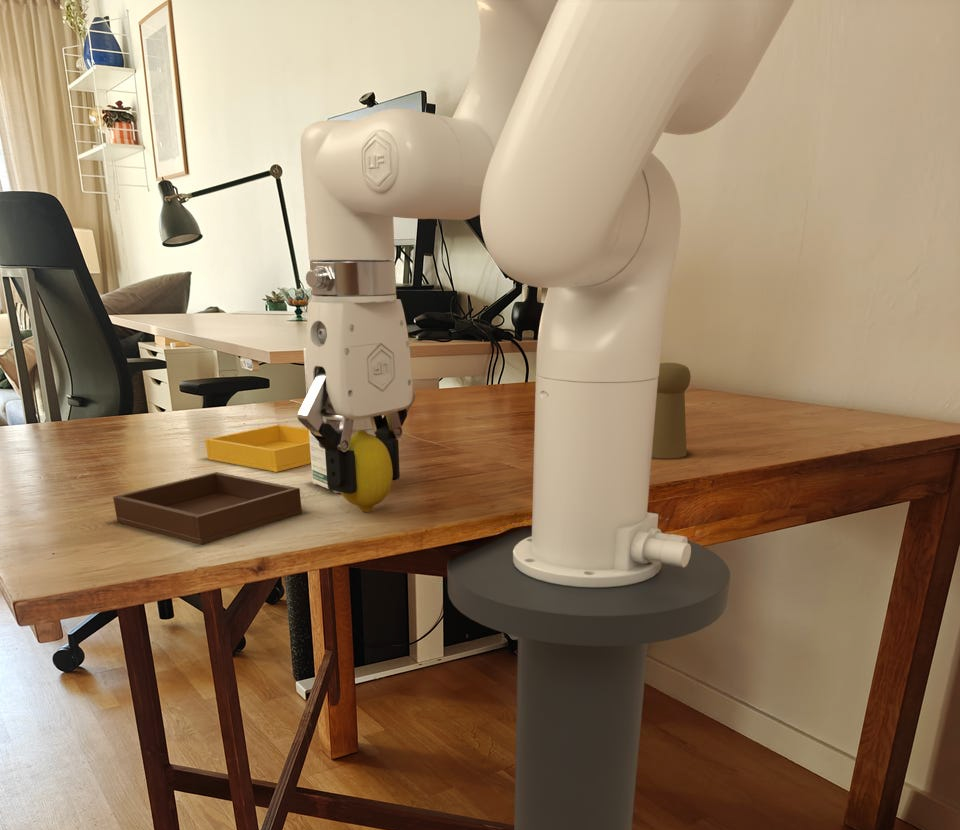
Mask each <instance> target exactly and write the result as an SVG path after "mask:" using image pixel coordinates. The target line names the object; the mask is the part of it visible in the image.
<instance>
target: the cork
mask: <svg viewBox="0 0 960 830" xmlns="http://www.w3.org/2000/svg"><path fill="white" fill-rule="evenodd" d="M691 377H692V376H691V371H690V369H689V367H688V366H687V365H685V364H681V363H677V362H660V367H659V376H658V385H657V397H656V410H655V422H654V434H653V446H652V458H653V459H681V458H684V457H686V456H687V455H688V454H687V426H686V398H685V397H686V396H685V392H686V391H687V389H688V388H689V386H690V383H691Z"/></svg>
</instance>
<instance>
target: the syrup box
mask: <svg viewBox="0 0 960 830" xmlns="http://www.w3.org/2000/svg"><path fill="white" fill-rule="evenodd" d="M303 363H304V375H305V377H304V378H305V392H306V395H307V394H308V389H307V374H306V347H303ZM338 415H342V414H338ZM321 417H322V418H323V416H321ZM339 425H340V423H338V422H335V427H334V429H335V430H336V432H337V433H338V431H339ZM359 430H365V431H366V432H367V433H368V434H370V435H373V436H376V435H375V434H374V431H373V427H372V424H371V421H370V417H369V418H364V419H359V420H354V422H353V428H352V433H351V436H352V435H355V434H356V433H357V432H358V431H359ZM309 439H310V453H311V463H310V464H311V467H310V468H311V478H312V479H311V480H312V484H313V485H316V486H317V485H318V486H320V487H322V488H324V489H327V490H329V491H332V490H330V489H329V488H328V485H327V471H326V457H325V449H322V448H321V447H320V446H319V441H318V440H317V439H316V438H315V437H314V436H313V435H312V434H311V432H310V430H309ZM332 492H333V493H335V494H341V493H340V492H338V491H332Z"/></svg>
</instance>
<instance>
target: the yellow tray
mask: <svg viewBox="0 0 960 830" xmlns="http://www.w3.org/2000/svg"><path fill="white" fill-rule="evenodd" d="M204 440H205V448H206V455H207V460H210V461H215V462H220V463H226V464H232V465H237V466H241V467H247V468H253V469H257V470H263V471H269V472H275V473H278V472H282V471H287V470H290V469H294V468H299V467H302V466H306V465H310V464H311V453H310V439H309V430H308V429H307V428H306V427H300V426H293V425H286V424H280V423H279V424H274V425H268V426H263V427H259V428H253V429H249V430H248V429H247V430H243V431H239V432H233V433H229V434H223V435H219V436H213V437H209V438H205V439H204Z"/></svg>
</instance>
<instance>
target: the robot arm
mask: <svg viewBox="0 0 960 830" xmlns="http://www.w3.org/2000/svg"><path fill="white" fill-rule="evenodd" d="M794 2H795V0H475V4H476V7H477V12H478V18H479V19H478V20H479V44H478V50H477V56H476V60H475V64H474V67H473V71H472V73H471V76H470V79H469V81H468V83H467V86H466V88H465V91H464V92H463V94H462V97H461V99H460V101H459V103H458V105H457V107H456V109H455V111H454V112H453V116H452V117H451V116H445V115H441V114H435V113H430V112H423V111H421V110H420V111H419V110H415V109H408V108H402V107H401V108H398V107H397V108H388V109H383V110H379V111H376V112H373V113H371V114H368V115H366V116H362V117H360V118H357V119H331V120H330V119H329V120H322V121H321V120H320V121H315V122H313V123H311V124H308V125H307V126H306V127H305V128H304V129H303V132H302V134H301V137H300V157H301V159H300V161H301V171H302V173H301V174H302V186H303V197H304V199H303V200H304V210H305V225H306V238H307V251H308V253H307V254H308V266H309V267H308V268H309V271H307V272H306V274H305V281H306V284H307V285H308V286H309V287H310V293H311V296H310V297H311V301H308V307H307V316H306V317H307V318H306V330H305V332H306V333H305V348H306V374H307V389H308V394H306V395H305V397H304V400H303V401H302V404H301V406H300V408H299V410H298V412H297V415H296V416H297V420H298V421H299V422H300V423H301V424H302V425H303V426H304V428H307V429H308V430H310V432H311V434H312V435H313V436H314V437H315V438H316V439H317V440H318V441H319V446H320V447H321V448H322V449H325V457H326V471H327V485H328V488H329V489H330V490H329V489H328V490H329V491H331V490H332V492H333V491H338V492H343V493H348V494H352V493H355V492H356V490H357V485H356V468H355V454H354V451H353V450H348V449H349V445H350V439H351V433H352V428H353V422H354V420H359V419H364V418H369V417H370V421H371V424H372V427H373V431H374V434H375V435H376V436H375V437H376V438H378V439H379V440H380V441H381V442H382V443H383V444H384V445H385V446H386V448H387V450H388V452H389V455H390V458H391V462H392V469H393V477H392V481H398V480H399V479H400V477H401V475H400V450H399V449H400V447H399V439H400V438H401V437H402V436H403V428H402V427H403V425H404V423H405V421H406V419H407V417H408V412H409V410H410V409H411V408H412V405H413V404H414V402H415V400H416V393H415V392H414V389H413V388H414V386H413V370H412V358H411V348H410V340H409V333H408V327H407V320H406V316H405V311H404V307H403V303H402V301H401V299H400V298H399V299H398V298H397V282H396V281H397V279H396V261H395V260H396V257H395V255H396V254H395V253H396V252H395V227H394V218H401V219H413V220H415V219H416V220H427V219H428V220H449V221H466V220H471V219H473V218H476V217H478V216H479V218H480V219H479V220H480V228H481V233H482V238H483V241H484V244H485V247H486V250H487V252H488V254H489V255H490V257H491V259H492V260H493V262H494V263H495V264H496V266H497V267H498V268H499V269H500V270H501V271H502V272H503V273H504V274H505V275H506V276H508V277H509V278H511V279H513V280H514V281H516V282H519V283H521V284H524V285H526V286H529V287H534V288H543V289H547V291H546V296H545V298H544V302H543V307H542V311H541V316H540V320H539V327H538V334H537V342H536V343H537V345H536V357H535V358H536V359H535V360H536V361H535V362H536V363H535V390H534V391H535V392H534V393H535V394H534V396H535V397H534V435H533V437H534V438H533V440H534V441H533V468H532V469H533V475H532V511H531V512H532V515H531V516H532V517H531V525H532V536H531V537H528V538H526V539H524V540H522V541H520V542H519V543H518V544H517V545H516V546H515V547H514V550H513V563H514V565H515V567H516V568H517V569H518V570H520V571H521V572H522V573H524V574H526V575H527V576H529V577H532V578H534V579H537V580H540V581H544V582H547V583H552V584H557V585H562V586H570V587H582V588H609V587H620V586H626V585H632V584H636V583H639V582H643V581H645V580H648V579H650V578H652V577H653V576H655V575H656V574H657V573H658V572H659V571H660V569H661V566H662V563H663V564H667V565H672V566H678V567H683V568H684V567H686V565H687V564H688V562H689V559H690V555H691V546H690V544H688V543H687V540H688V537H687V536H685V535H679V534H673V533H670V534H669V533H666V534H665V532H662V530H661V529H660V528H658V524H659V513H655V512H648V507H649V495H650V494H649V493H650V483H651V481H650V480H651V469H652V446H653V434H654V422H655V410H656V397H657V385H658V376H659V367H660V363H661V355H662V344H663V335H664V324H665V316H666V310H667V302H668V298H669V297H668V296H669V291H670V286H671V283H672V277H673V272H674V267H675V265H676V264H675V262H676V258H677V253H678V248H679V242H680V235H681V224H682V223H681V221H682V219H681V218H682V216H681V213H682V212H681V203H680V198H679V197H680V196H679V193H678V189H677V187H676V184H675V181H674V179H673V177H672V175H671V173H670V172H669V170H668V169H667V167H666V165H665V164H664V163H663V162H662V161H661V160H660V159H659V157H658V156H656V155H655V154H654V153H653V151H654V150H655V147H656V146H657V144H658V142H659V140H660V138H661V137H662V134H663V133H665V134H670V135H676V136H684V135H685V136H686V135H688V136H689V135H693V134H699V133H701V132H704V131H707V130H708V129H711V128H713V127H714V126H715V125H716V124H718V123H719V122H721V121H722V120H724V118H725V117H727V115H728V114H729V113H730V112H731V110H732V109H733V108H735V105H736V104H737V103H738V102H739V100H740V99H741V97H742V96H743V94H744V92H745V91H746V89H747V87H748V86H749V83H750V82H751V80H752V78H753V77H754V74H755V72H756V70H757V69H758V68H759V65H760V63H761V61H762V59H763V57H764V56H765V54H766V52H767V51H768V49H769V47H770V45H771V43H772V42H773V39H774V38H775V36H776V34H777V33H778V31H779V29H780V27H781V26H782V24H783V22H784V20H785V18H786V17H787V14H788V13H789V11H790V9H791V8H792V6H793V4H794ZM338 414H342V415H338ZM321 416H323V418H322V417H321ZM335 422H338V423H340V425H339V431H338V433H337V432H336V430H335V429H334V427H335ZM661 532H662V533H661Z"/></svg>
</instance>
